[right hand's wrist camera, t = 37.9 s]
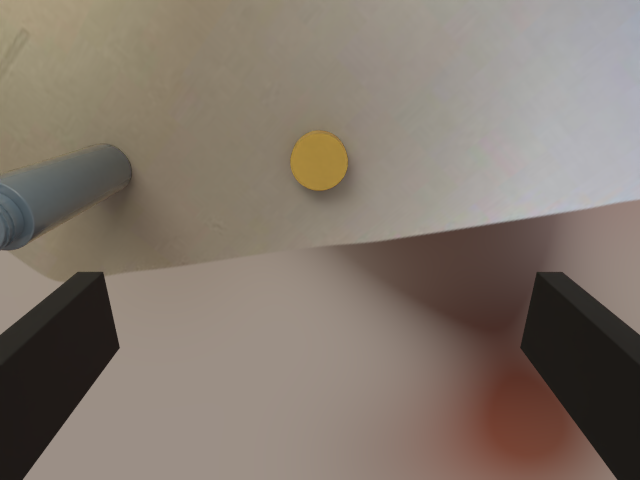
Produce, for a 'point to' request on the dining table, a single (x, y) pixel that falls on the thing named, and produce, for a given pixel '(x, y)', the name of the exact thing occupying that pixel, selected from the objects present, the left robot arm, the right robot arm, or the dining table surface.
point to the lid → (319, 160)
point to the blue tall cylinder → (57, 191)
